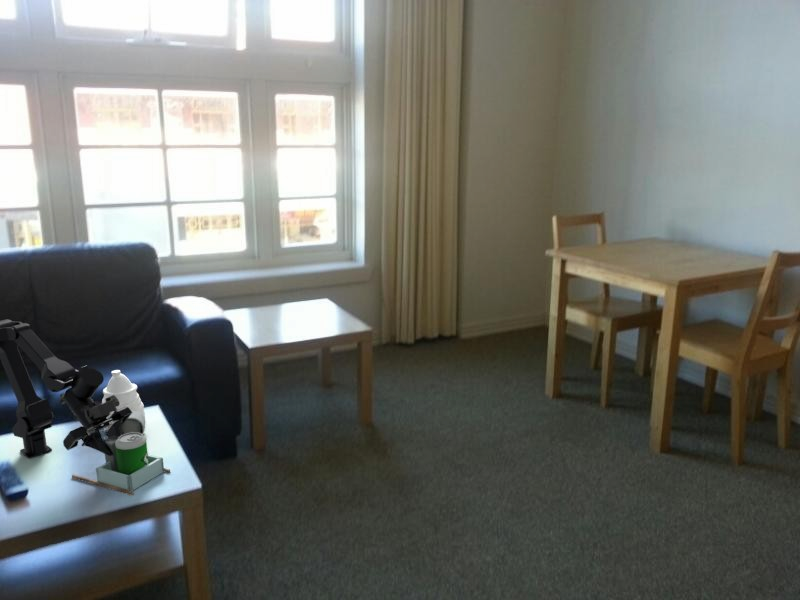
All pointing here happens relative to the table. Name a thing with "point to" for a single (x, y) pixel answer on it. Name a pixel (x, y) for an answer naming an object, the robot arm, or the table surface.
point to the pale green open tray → (129, 482)
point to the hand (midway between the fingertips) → (117, 452)
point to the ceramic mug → (133, 424)
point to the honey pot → (123, 393)
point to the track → (108, 484)
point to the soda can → (131, 452)
